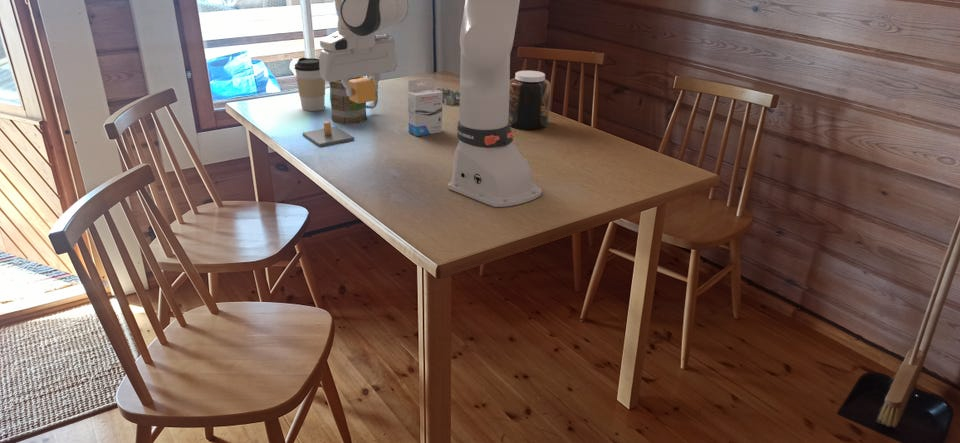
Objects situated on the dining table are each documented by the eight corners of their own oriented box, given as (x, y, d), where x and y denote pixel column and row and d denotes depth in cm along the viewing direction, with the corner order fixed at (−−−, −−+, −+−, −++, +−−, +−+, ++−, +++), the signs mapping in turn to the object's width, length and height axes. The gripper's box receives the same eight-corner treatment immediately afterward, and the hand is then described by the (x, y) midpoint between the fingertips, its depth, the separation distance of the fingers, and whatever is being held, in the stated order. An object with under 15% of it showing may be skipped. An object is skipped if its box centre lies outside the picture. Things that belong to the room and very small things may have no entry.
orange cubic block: (375, 100, 172) (374, 80, 170) (358, 103, 169) (356, 84, 167) (366, 96, 176) (365, 77, 174) (349, 99, 173) (347, 80, 171)
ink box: (416, 137, 186) (415, 84, 179) (408, 132, 189) (406, 80, 183) (443, 132, 190) (443, 80, 184) (434, 127, 194) (433, 76, 187)
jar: (518, 132, 191) (521, 80, 185) (500, 120, 201) (502, 70, 194) (554, 128, 196) (558, 76, 189) (535, 116, 205) (538, 67, 199)
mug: (342, 126, 193) (339, 85, 187) (323, 117, 200) (320, 77, 195) (388, 116, 202) (387, 77, 197) (368, 108, 209) (366, 70, 204)
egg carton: (466, 103, 218) (466, 91, 216) (446, 106, 214) (446, 94, 212) (449, 95, 226) (449, 83, 224) (430, 98, 222) (429, 86, 220)
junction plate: (354, 140, 182) (353, 124, 180) (319, 146, 177) (318, 131, 175) (336, 129, 190) (335, 114, 188) (302, 135, 185) (301, 120, 183)
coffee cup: (334, 107, 210) (330, 58, 203) (313, 113, 203) (308, 64, 197) (313, 102, 214) (309, 54, 208) (292, 108, 207) (287, 59, 201)
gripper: (387, 31, 174) (391, 84, 180) (313, 41, 163) (320, 97, 169) (400, 35, 169) (403, 89, 175) (324, 45, 158) (331, 102, 164)
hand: (362, 93), depth 172 cm, fingers closed on orange cubic block, 5 cm apart
